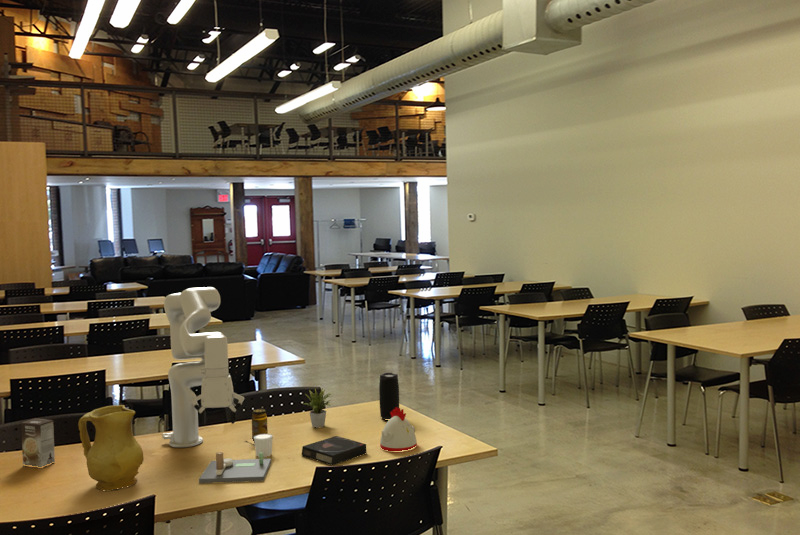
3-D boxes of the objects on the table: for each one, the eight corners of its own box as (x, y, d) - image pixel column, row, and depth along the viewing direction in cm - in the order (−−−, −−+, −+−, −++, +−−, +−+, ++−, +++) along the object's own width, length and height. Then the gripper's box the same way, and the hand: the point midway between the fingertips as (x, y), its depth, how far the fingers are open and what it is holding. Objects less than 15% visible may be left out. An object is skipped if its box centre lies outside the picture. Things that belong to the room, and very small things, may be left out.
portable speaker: (381, 422, 289) (379, 376, 288) (379, 416, 298) (378, 372, 297) (400, 421, 290) (399, 375, 289) (398, 415, 299) (397, 371, 298)
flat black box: (301, 457, 246) (301, 446, 246) (336, 446, 259) (336, 435, 258) (331, 467, 235) (331, 456, 235) (366, 454, 247) (366, 444, 247)
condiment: (272, 440, 267) (271, 410, 266) (253, 445, 261) (252, 414, 260) (262, 436, 272) (261, 407, 271) (243, 441, 266) (242, 411, 265)
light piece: (218, 462, 236) (217, 444, 235) (234, 461, 236) (234, 443, 236) (210, 475, 223) (209, 456, 223) (227, 474, 223) (226, 455, 223)
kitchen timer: (396, 455, 245) (395, 414, 244) (372, 446, 256) (371, 407, 255) (424, 446, 254) (423, 407, 254) (400, 438, 265) (399, 401, 264)
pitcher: (109, 497, 210) (106, 418, 209) (74, 487, 220) (70, 411, 219) (155, 480, 225) (152, 406, 224) (120, 470, 235) (117, 399, 233)
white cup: (257, 459, 244) (256, 440, 244) (252, 453, 250) (251, 435, 250) (275, 455, 247) (275, 437, 247) (270, 450, 253) (269, 432, 253)
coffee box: (21, 466, 241) (19, 422, 240) (36, 461, 247) (34, 417, 246) (41, 469, 238) (39, 424, 237) (56, 463, 244) (54, 419, 243)
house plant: (333, 431, 276) (332, 392, 275) (300, 432, 276) (298, 392, 276) (337, 422, 290) (336, 384, 290) (305, 422, 291) (304, 385, 290)
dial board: (198, 483, 221) (198, 466, 221) (211, 464, 239) (211, 449, 238) (263, 480, 222) (263, 464, 222) (271, 462, 240) (270, 447, 239)
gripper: (187, 375, 220) (189, 427, 221) (241, 373, 221) (242, 425, 221) (193, 371, 227) (195, 421, 228) (245, 369, 228) (246, 419, 229)
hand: (218, 423), depth 225 cm, fingers open, 9 cm apart
